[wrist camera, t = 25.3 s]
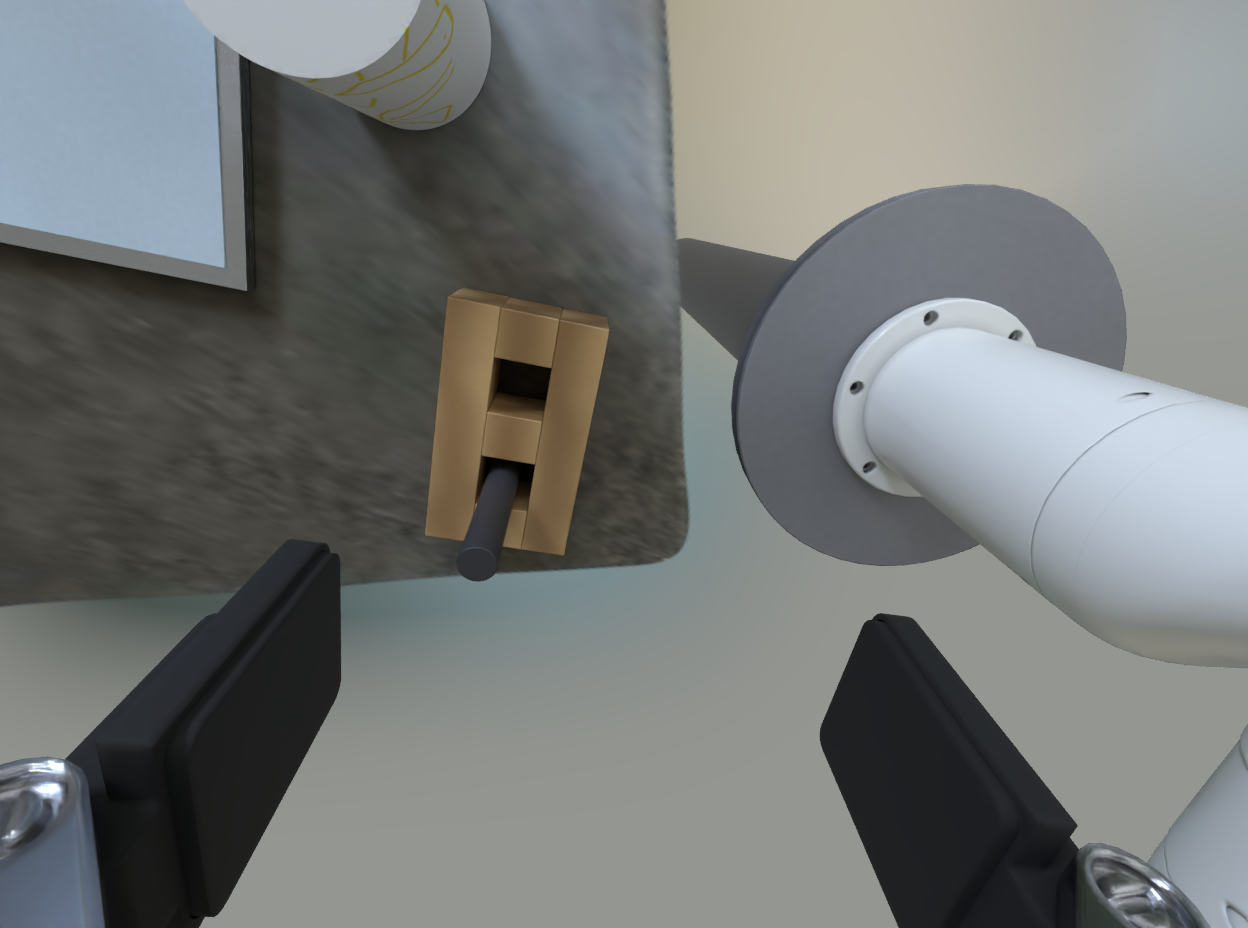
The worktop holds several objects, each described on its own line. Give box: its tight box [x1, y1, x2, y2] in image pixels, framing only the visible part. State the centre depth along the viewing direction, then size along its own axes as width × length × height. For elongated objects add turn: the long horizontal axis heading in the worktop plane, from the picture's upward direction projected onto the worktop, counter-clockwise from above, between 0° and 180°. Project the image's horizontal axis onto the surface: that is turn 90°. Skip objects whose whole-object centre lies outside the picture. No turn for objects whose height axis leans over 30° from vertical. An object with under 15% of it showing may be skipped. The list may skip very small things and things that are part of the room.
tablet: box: [0, 0, 255, 291], centre depth 27 cm, size 20×15×1 cm
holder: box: [425, 287, 610, 556], centre depth 34 cm, size 8×14×4 cm, turn 168°
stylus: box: [456, 458, 522, 581], centre depth 31 cm, size 2×2×12 cm
